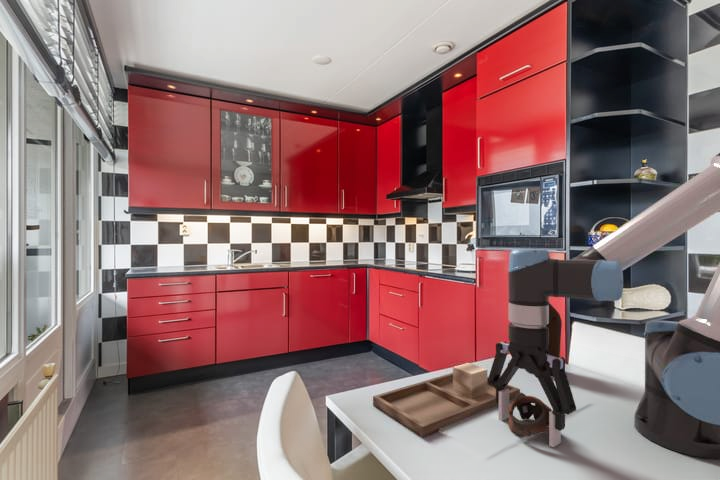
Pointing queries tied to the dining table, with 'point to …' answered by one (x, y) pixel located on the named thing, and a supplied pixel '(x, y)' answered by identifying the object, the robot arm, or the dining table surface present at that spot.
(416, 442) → the dining table surface
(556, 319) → the olive oil
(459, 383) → the beech block
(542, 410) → the pottery mug
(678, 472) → the dining table surface
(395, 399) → the walnut tray
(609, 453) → the dining table surface
